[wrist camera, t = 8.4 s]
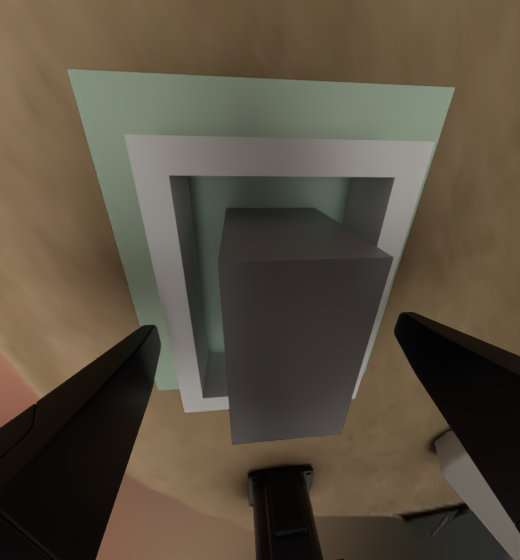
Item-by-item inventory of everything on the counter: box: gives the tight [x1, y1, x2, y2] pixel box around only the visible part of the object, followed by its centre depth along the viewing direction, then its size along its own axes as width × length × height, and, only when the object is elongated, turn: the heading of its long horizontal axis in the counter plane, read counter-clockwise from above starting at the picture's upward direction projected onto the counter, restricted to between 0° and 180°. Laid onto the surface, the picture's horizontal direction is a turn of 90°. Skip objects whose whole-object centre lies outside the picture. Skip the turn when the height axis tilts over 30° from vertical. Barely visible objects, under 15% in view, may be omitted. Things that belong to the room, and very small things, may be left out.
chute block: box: [218, 208, 394, 445], centre depth 9 cm, size 7×4×6 cm, turn 179°
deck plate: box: [67, 69, 455, 413], centre depth 11 cm, size 16×14×4 cm
